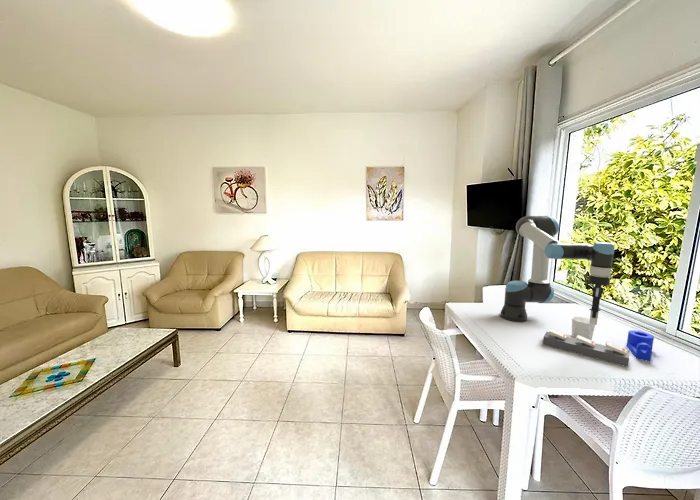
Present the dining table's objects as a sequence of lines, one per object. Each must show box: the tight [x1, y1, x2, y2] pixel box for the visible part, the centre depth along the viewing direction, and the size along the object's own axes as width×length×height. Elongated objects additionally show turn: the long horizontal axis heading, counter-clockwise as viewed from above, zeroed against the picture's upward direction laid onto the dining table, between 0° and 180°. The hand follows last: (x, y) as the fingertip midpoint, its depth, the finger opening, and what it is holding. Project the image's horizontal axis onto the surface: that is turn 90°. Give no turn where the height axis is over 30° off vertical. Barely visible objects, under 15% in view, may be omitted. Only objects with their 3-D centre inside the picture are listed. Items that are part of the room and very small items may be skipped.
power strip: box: [542, 331, 630, 367], centre depth 143 cm, size 32×9×5 cm, turn 48°
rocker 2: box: [575, 335, 596, 347], centre depth 142 cm, size 7×4×1 cm, turn 48°
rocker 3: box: [605, 341, 627, 355], centre depth 135 cm, size 7×4×1 cm, turn 48°
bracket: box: [626, 329, 655, 362], centre depth 143 cm, size 20×9×8 cm, turn 141°
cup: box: [571, 316, 596, 341], centre depth 159 cm, size 10×10×10 cm
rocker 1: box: [548, 328, 568, 340], centre depth 150 cm, size 7×4×1 cm, turn 48°
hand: (593, 323), depth 140 cm, fingers closed
